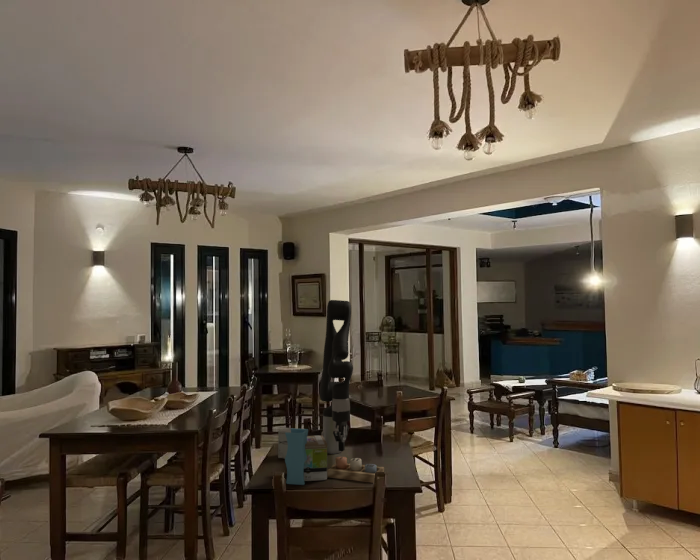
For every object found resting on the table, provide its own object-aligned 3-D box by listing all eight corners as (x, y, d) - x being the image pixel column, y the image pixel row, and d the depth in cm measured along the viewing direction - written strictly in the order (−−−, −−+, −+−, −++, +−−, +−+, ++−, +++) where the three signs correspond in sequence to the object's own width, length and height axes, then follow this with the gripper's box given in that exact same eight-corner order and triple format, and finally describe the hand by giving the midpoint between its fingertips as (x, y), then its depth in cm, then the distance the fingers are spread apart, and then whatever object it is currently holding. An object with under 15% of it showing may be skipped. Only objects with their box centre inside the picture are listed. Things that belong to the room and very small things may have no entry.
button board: (327, 477, 219) (327, 469, 219) (337, 469, 229) (337, 462, 230) (375, 482, 212) (375, 475, 212) (384, 474, 222) (384, 467, 222)
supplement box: (277, 458, 246) (277, 430, 247) (285, 453, 253) (285, 427, 254) (291, 459, 244) (291, 432, 244) (299, 455, 251) (299, 428, 251)
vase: (291, 477, 219) (291, 428, 220) (309, 478, 218) (309, 429, 219) (285, 483, 212) (284, 432, 213) (304, 484, 210) (303, 433, 211)
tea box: (327, 480, 215) (327, 443, 216) (303, 482, 214) (302, 444, 214) (323, 468, 230) (322, 434, 231) (299, 470, 228) (299, 435, 229)
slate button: (363, 476, 217) (363, 466, 217) (367, 473, 221) (367, 462, 222) (374, 478, 215) (374, 467, 215) (378, 474, 220) (378, 464, 220)
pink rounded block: (333, 469, 222) (333, 458, 222) (338, 465, 226) (338, 455, 226) (344, 470, 220) (344, 460, 220) (348, 466, 224) (348, 456, 225)
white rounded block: (348, 470, 219) (348, 460, 219) (352, 467, 224) (352, 457, 224) (359, 472, 218) (359, 461, 218) (363, 468, 222) (363, 458, 222)
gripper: (338, 405, 232) (339, 446, 231) (326, 411, 219) (327, 454, 218) (354, 406, 229) (355, 447, 228) (343, 412, 217) (344, 455, 216)
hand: (341, 450), depth 223 cm, fingers closed
